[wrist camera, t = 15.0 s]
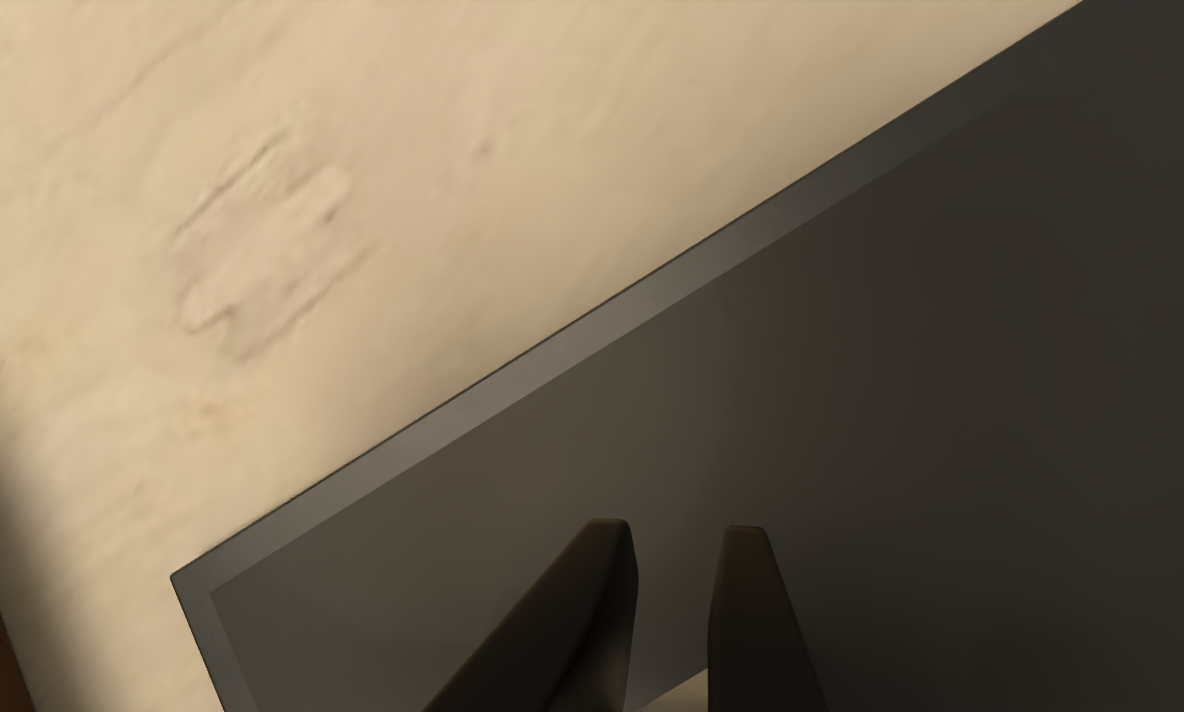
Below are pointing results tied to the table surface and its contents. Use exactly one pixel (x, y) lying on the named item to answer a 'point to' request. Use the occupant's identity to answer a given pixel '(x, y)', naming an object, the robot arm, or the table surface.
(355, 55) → the table surface
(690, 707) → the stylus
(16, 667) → the dock
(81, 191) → the table surface
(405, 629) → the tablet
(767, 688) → the robot arm
